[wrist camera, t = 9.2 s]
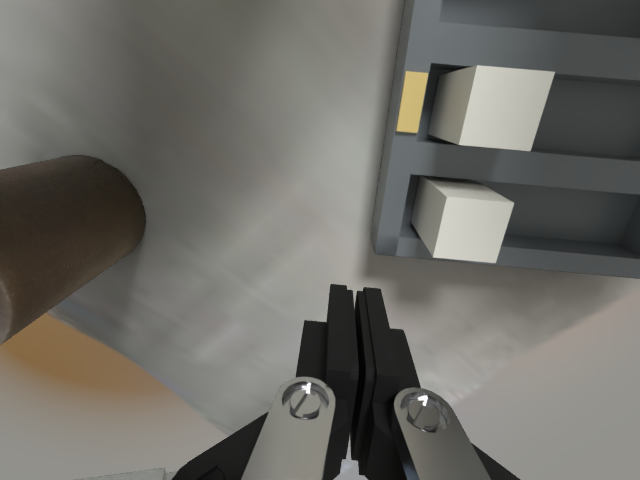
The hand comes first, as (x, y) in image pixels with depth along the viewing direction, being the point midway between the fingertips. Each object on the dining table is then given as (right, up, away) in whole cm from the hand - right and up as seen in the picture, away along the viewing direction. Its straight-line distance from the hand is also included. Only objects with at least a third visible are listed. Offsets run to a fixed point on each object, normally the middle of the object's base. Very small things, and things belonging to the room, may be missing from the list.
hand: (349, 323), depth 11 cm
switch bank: (+15, +12, +14) cm, 24 cm away
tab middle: (+9, +12, +13) cm, 20 cm away
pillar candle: (-21, +6, +19) cm, 29 cm away
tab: (+9, +6, +16) cm, 19 cm away
